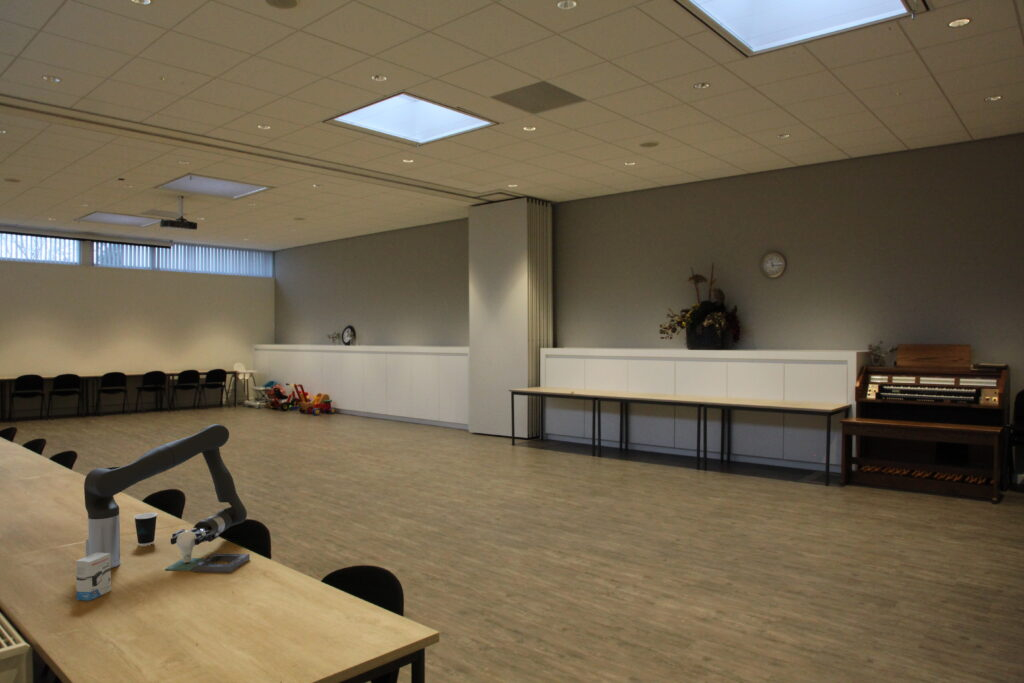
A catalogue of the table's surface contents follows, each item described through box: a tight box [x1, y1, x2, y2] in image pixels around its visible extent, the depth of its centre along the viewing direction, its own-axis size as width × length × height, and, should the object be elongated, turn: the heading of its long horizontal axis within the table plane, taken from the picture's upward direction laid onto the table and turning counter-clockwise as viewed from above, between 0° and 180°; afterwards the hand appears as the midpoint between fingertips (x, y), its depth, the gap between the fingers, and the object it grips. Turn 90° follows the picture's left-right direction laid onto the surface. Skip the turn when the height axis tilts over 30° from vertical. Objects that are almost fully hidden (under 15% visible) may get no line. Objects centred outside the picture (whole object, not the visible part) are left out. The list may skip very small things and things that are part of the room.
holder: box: [192, 552, 250, 574], centre depth 233 cm, size 13×13×2 cm
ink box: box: [75, 553, 112, 602], centre depth 208 cm, size 8×5×12 cm, turn 168°
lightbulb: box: [175, 530, 197, 564], centre depth 235 cm, size 6×6×11 cm
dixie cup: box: [133, 512, 158, 547], centre depth 258 cm, size 8×8×11 cm
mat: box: [165, 557, 207, 572], centre depth 234 cm, size 9×11×1 cm
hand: (183, 541), depth 232 cm, fingers open, 8 cm apart
